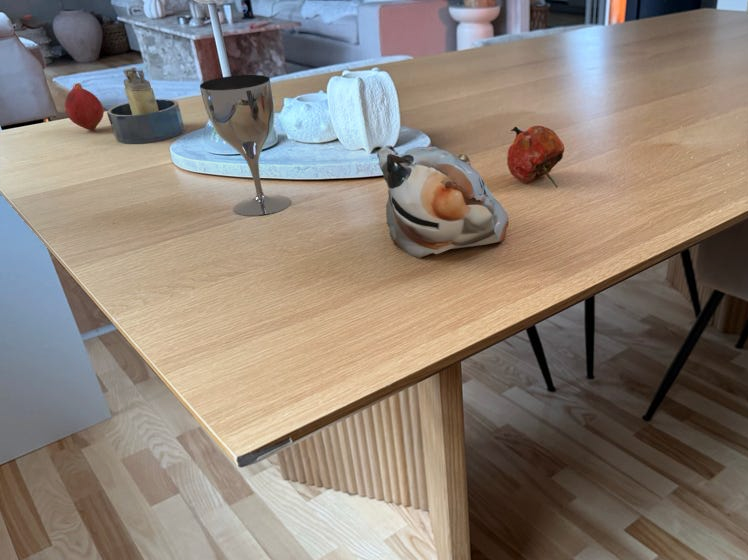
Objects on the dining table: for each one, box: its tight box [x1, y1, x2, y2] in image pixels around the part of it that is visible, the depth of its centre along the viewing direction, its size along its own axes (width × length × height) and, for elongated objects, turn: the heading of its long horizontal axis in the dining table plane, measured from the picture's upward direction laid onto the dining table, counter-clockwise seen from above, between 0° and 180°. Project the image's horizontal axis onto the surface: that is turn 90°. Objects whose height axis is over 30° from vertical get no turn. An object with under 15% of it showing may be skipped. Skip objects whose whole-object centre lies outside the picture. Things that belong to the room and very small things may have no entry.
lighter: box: [122, 66, 159, 115], centre depth 117 cm, size 7×4×10 cm, turn 39°
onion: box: [64, 82, 105, 132], centre depth 121 cm, size 6×6×8 cm
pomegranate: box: [506, 125, 565, 188], centre depth 91 cm, size 7×7×10 cm
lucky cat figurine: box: [376, 145, 510, 259], centre depth 73 cm, size 15×12×14 cm
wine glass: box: [199, 74, 292, 217], centre depth 85 cm, size 8×8×15 cm
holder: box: [106, 98, 186, 145], centre depth 119 cm, size 11×11×4 cm
